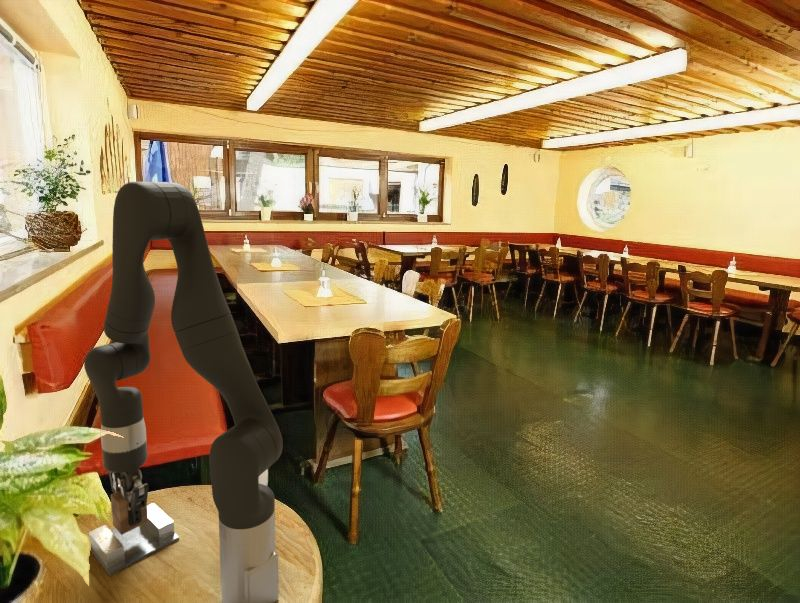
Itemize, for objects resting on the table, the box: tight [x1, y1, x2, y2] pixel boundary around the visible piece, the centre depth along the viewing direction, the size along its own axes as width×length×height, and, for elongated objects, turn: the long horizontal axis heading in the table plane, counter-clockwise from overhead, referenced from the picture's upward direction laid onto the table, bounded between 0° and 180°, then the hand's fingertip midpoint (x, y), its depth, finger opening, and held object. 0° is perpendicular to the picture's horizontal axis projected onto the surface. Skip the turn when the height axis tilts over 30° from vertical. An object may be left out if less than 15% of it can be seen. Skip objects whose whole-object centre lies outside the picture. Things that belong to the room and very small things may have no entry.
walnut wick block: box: [110, 491, 148, 535], centre depth 94 cm, size 4×5×7 cm
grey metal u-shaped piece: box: [88, 502, 180, 577], centre depth 95 cm, size 12×13×4 cm
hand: (130, 517), depth 94 cm, fingers closed on walnut wick block, 4 cm apart
